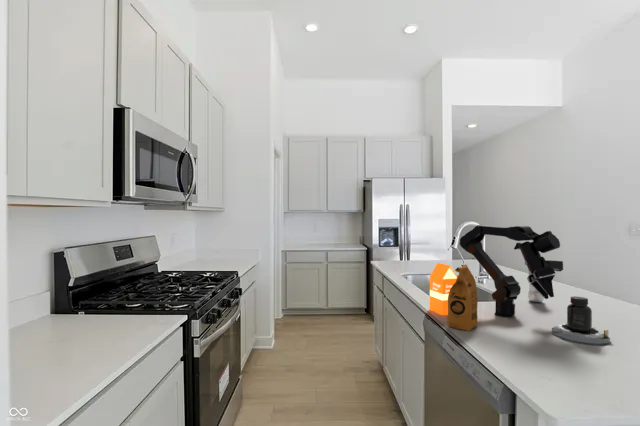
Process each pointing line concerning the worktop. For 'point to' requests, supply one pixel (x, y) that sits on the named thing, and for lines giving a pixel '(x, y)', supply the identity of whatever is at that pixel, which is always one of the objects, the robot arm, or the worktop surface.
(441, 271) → the orange juice
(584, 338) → the seat plate
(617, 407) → the worktop surface
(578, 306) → the supplement bottle
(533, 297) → the plastic bottle
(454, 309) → the coffee package
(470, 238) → the robot arm
